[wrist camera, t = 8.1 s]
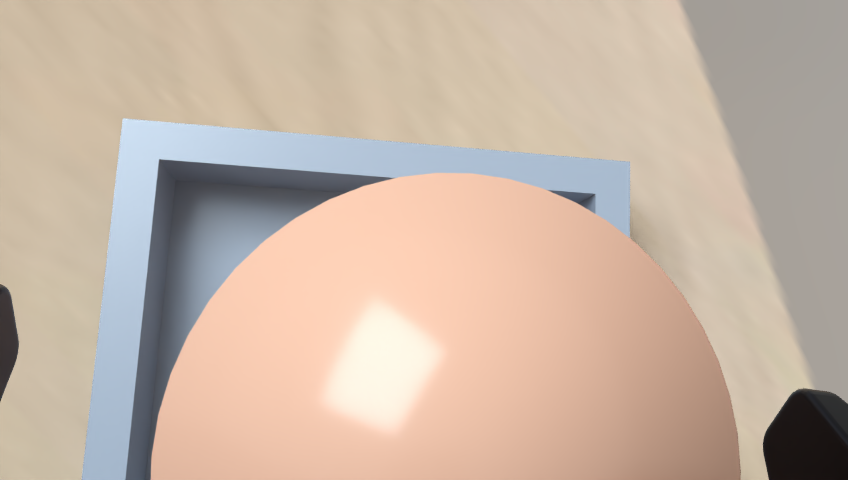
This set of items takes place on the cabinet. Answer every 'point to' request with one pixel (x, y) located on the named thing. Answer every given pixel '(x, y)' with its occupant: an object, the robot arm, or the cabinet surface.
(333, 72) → the cabinet surface
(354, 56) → the cabinet surface
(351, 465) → the peach rounded peg
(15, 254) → the cabinet surface
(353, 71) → the cabinet surface
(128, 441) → the tray
